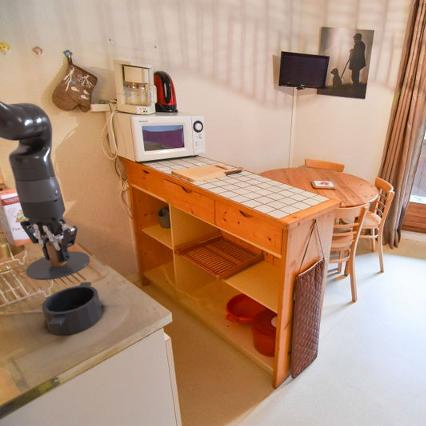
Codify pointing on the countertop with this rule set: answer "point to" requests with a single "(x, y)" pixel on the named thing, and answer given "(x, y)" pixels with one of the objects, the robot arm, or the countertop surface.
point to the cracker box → (12, 218)
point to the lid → (57, 265)
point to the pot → (72, 309)
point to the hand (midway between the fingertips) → (58, 259)
